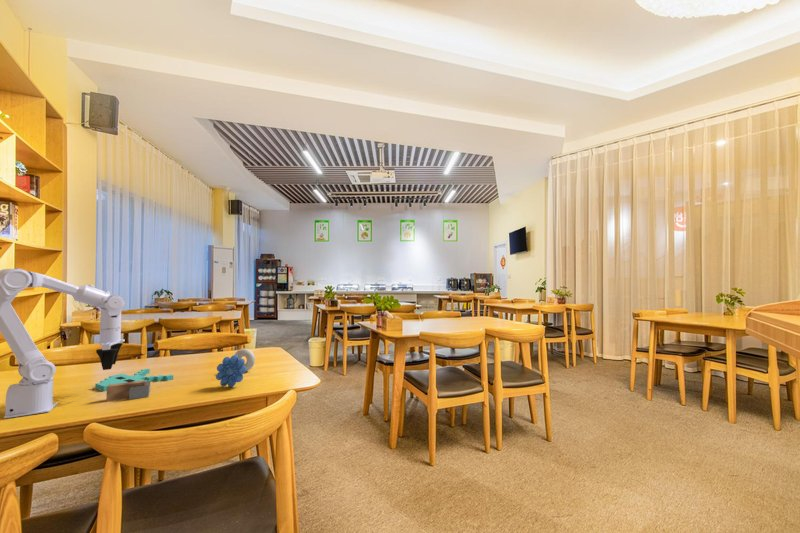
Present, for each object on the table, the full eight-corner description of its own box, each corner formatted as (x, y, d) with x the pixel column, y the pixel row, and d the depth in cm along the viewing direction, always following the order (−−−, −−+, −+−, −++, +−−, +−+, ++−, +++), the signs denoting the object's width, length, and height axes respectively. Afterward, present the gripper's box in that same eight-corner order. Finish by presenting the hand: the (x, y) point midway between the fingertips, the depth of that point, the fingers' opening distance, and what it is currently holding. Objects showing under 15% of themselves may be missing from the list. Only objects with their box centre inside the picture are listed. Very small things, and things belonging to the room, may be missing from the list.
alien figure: (146, 373, 146) (87, 386, 128) (146, 368, 146) (87, 380, 128) (173, 380, 136) (112, 395, 119) (173, 375, 136) (113, 389, 119)
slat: (106, 402, 112) (106, 386, 112) (107, 399, 114) (108, 384, 114) (144, 396, 117) (144, 381, 117) (144, 394, 119) (145, 380, 119)
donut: (256, 370, 149) (257, 348, 150) (251, 373, 146) (252, 349, 146) (236, 369, 151) (236, 347, 151) (231, 371, 148) (231, 348, 148)
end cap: (129, 399, 114) (129, 387, 114) (131, 394, 119) (132, 382, 119) (148, 396, 116) (148, 385, 117) (150, 391, 122) (150, 380, 122)
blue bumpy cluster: (251, 383, 132) (252, 352, 132) (242, 389, 125) (243, 356, 125) (222, 382, 132) (223, 352, 133) (212, 388, 125) (212, 356, 126)
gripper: (121, 330, 116) (120, 370, 116) (127, 324, 128) (126, 360, 128) (94, 331, 112) (93, 373, 112) (103, 326, 124) (102, 363, 124)
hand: (109, 366), depth 120 cm, fingers open, 7 cm apart
